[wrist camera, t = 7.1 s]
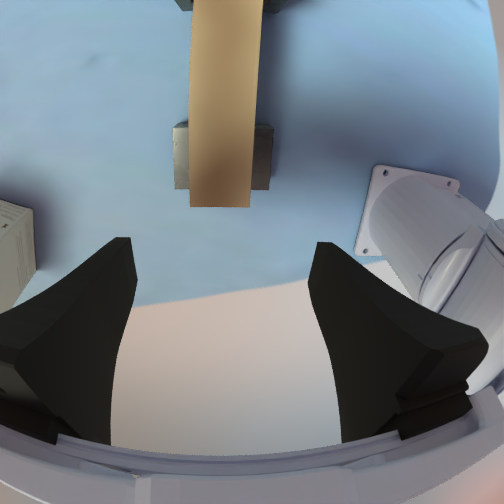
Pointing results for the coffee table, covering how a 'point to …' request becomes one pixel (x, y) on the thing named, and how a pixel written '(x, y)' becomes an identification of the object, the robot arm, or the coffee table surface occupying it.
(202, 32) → the rail
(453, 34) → the coffee table surface
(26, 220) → the supplement box
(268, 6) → the dark grey open box
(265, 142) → the rest block
